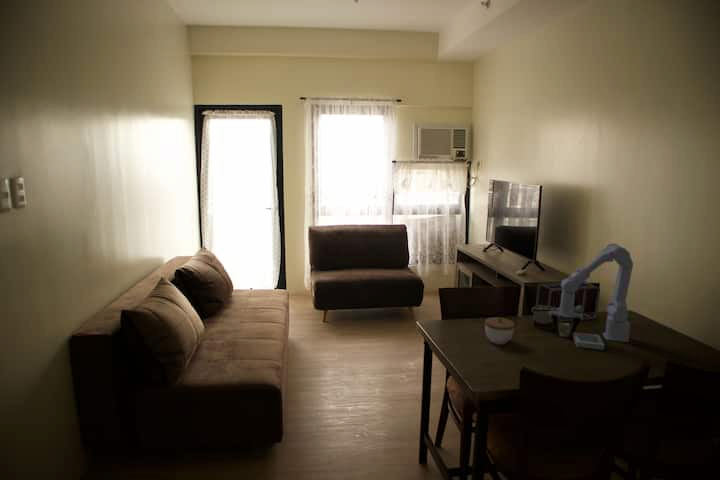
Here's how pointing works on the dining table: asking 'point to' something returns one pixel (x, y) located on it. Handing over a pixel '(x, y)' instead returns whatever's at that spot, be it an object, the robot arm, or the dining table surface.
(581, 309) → the newton's cradle
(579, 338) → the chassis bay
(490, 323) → the lidded bowl
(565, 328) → the beige cardboard-like cube
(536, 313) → the food container
